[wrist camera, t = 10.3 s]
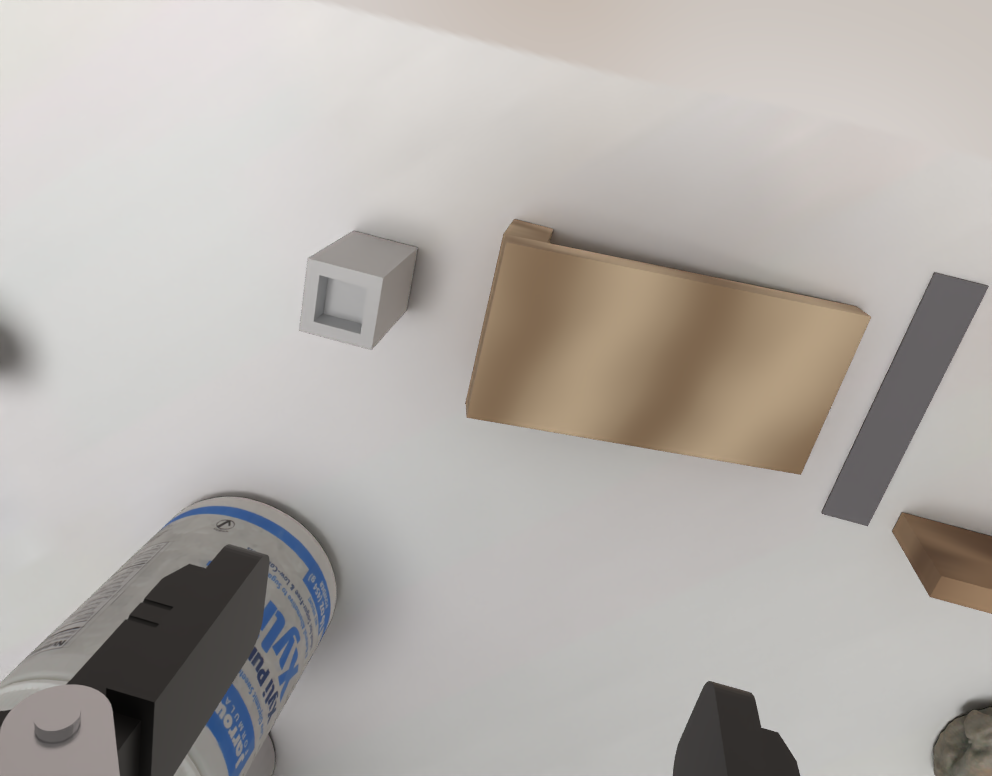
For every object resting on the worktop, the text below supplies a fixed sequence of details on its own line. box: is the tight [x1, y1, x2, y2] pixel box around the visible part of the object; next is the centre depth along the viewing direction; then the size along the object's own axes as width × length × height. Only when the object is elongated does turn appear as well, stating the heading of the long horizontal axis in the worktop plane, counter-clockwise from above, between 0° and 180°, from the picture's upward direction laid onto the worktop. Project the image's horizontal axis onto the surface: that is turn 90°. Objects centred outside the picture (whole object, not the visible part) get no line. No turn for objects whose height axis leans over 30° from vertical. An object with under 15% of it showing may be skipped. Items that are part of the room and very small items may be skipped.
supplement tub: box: [0, 497, 336, 776], centre depth 33 cm, size 10×10×15 cm
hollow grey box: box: [299, 231, 418, 350], centre depth 30 cm, size 3×3×5 cm
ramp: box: [465, 219, 871, 475], centre depth 30 cm, size 14×7×4 cm, turn 78°
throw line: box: [822, 272, 989, 526], centre depth 31 cm, size 2×11×1 cm, turn 168°
